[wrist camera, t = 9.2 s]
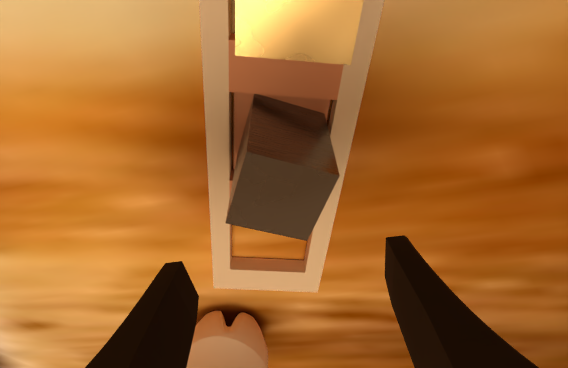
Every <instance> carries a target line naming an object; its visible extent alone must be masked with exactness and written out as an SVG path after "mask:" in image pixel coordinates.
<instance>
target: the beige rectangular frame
mask: <svg viewBox="0 0 568 368" xmlns="http://www.w3.org/2000/svg"><path fill="white" fill-rule="evenodd" d="M383 4H384V0H364V1H363V6H362V11H361V16H360V21H359V26H358V31H357V36H356V41H355V47H354V52H353V57H352V62H351V65H343V64H331V63H319V62H307V61H295V60H283V59H270V58H258V57H246V56H235V34H234V33H231V0H199V8H200V28H201V48H202V67H203V87H204V107H205V127H206V146H207V166H208V186H209V206H210V225H211V245H212V265H213V284H214V288H222V289H247V290H272V291H297V292H318V288H319V284H320V280H321V275H322V271H323V266H324V262H325V258H326V253H327V249H328V245H329V240H330V236H331V231H332V227H333V223H334V218H335V214H336V210H337V205H338V201H339V197H340V192H341V188H342V183H343V179H344V175H345V170H346V166H347V162H348V157H349V153H350V149H351V144H352V140H353V135H354V131H355V127H356V122H357V118H358V114H359V109H360V105H361V100H362V96H363V92H364V87H365V83H366V79H367V74H368V70H369V66H370V61H371V57H372V52H373V48H374V44H375V39H376V35H377V31H378V26H379V22H380V18H381V13H382V9H383ZM231 92H234V169H232V150H231ZM254 94H259V95H263V96H266V97H270V98H273V99H277V100H280V101H283V102H287V103H290V104H294V105H297V106H301V107H304V108H307V109H311V110H314V111H318V112H321V113H324V114H325V118H326V122H327V117H328V111H329V106H330V100H332V106H331V111H330V117H329V123H328V130H329V134H330V138H331V143H332V147H333V151H334V155H335V159H336V163H337V167H338V171H339V175H340V176H339V178H338V180H337V182H336V184H335V186H334V188H333V190H332V192H331V194H330V196H329V198H328V200H327V202H326V204H325V206H324V208H323V210H322V212H321V214H320V216H319V218H318V220H317V222H316V224H315V226H314V228H313V230H312V232H311V234H310V236H309V238H308V241H307V247H306V252H305V258H304V260H288V259H267V258H245V257H232V225H231V224H227V223H225V222H226V217H227V211H228V205H229V199H230V193H231V188H232V182H233V176H234V170H235V164H236V158H237V153H238V150H239V146H240V142H241V139H242V135H243V132H244V128H245V125H246V121H247V117H248V114H249V110H250V107H251V103H252V99H253V96H254Z"/></svg>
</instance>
